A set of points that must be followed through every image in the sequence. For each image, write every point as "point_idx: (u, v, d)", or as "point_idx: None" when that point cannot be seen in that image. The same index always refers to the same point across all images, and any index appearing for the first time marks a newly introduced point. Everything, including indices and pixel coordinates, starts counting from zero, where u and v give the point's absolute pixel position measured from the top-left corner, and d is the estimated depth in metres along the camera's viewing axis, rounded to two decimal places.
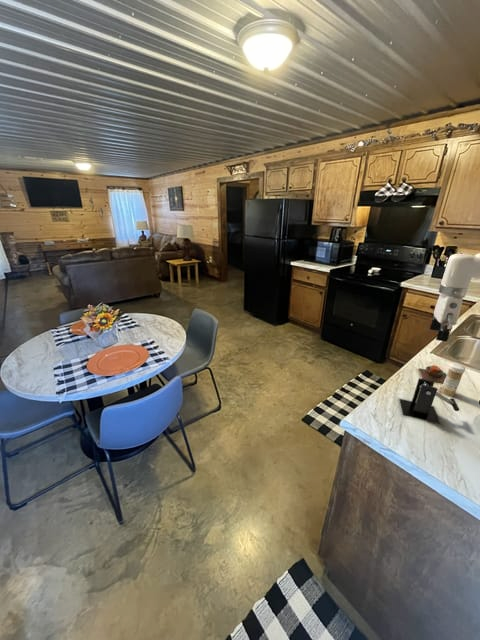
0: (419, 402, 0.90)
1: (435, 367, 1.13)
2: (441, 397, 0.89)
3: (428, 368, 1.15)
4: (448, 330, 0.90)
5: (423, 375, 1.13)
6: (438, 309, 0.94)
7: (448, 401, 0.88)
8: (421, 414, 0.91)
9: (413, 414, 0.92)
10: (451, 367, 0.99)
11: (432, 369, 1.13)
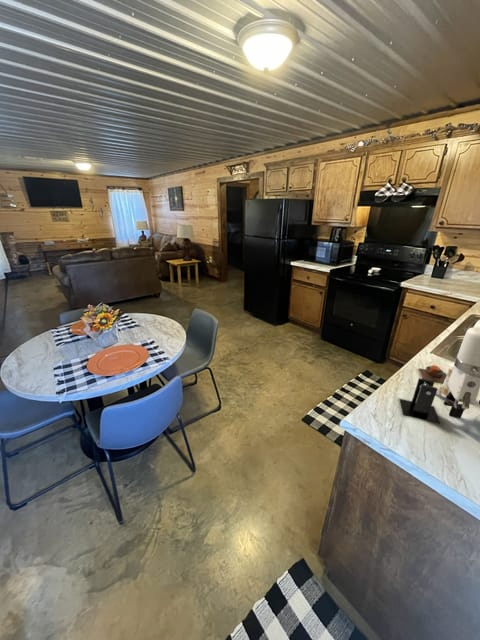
0: (419, 402, 0.90)
1: (435, 367, 1.13)
2: (441, 397, 0.89)
3: (428, 368, 1.15)
4: (462, 409, 0.84)
5: (423, 375, 1.13)
6: (454, 383, 0.86)
7: (448, 401, 0.88)
8: (421, 414, 0.91)
9: (413, 414, 0.92)
10: (451, 367, 0.99)
11: (432, 369, 1.13)
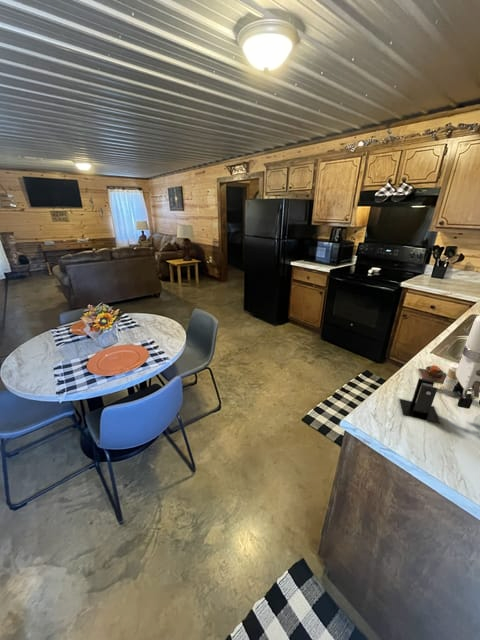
0: (419, 402, 0.90)
1: (435, 367, 1.13)
2: (445, 392, 0.88)
3: (428, 368, 1.15)
4: (471, 398, 0.82)
5: (423, 375, 1.13)
6: (462, 373, 0.84)
7: (453, 394, 0.87)
8: (421, 414, 0.91)
9: (413, 414, 0.92)
10: (451, 367, 0.99)
11: (432, 369, 1.13)
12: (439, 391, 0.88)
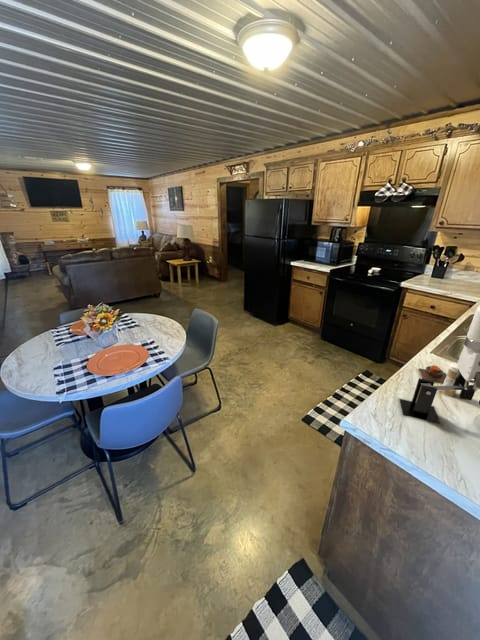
0: (419, 402, 0.90)
1: (435, 367, 1.13)
2: (445, 388, 0.87)
3: (428, 368, 1.15)
4: (473, 390, 0.81)
5: (423, 375, 1.13)
6: (464, 364, 0.82)
7: (454, 388, 0.86)
8: (421, 414, 0.91)
9: (413, 414, 0.92)
10: (451, 367, 0.99)
11: (432, 369, 1.13)
12: (439, 388, 0.88)
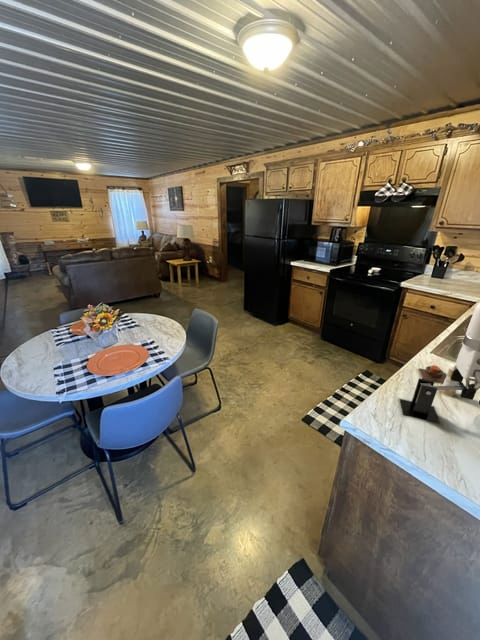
0: (419, 402, 0.90)
1: (435, 367, 1.13)
2: (445, 388, 0.87)
3: (428, 368, 1.15)
4: (475, 389, 0.79)
5: (423, 375, 1.13)
6: (462, 362, 0.82)
7: (454, 388, 0.86)
8: (421, 414, 0.91)
9: (413, 414, 0.92)
10: (451, 367, 0.99)
11: (432, 369, 1.13)
12: (439, 388, 0.88)
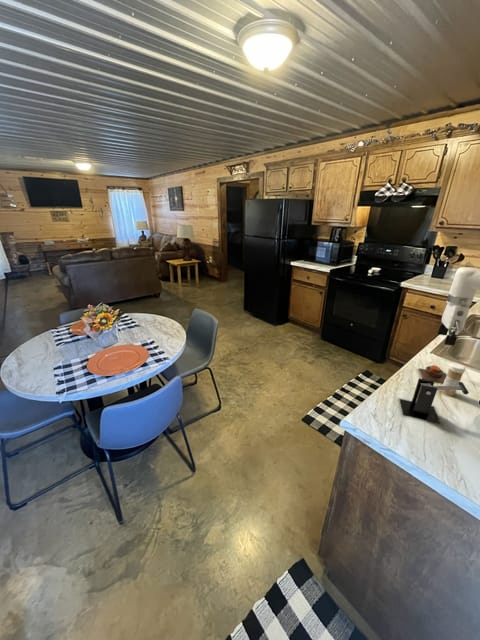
0: (419, 402, 0.90)
1: (435, 367, 1.13)
2: (445, 388, 0.87)
3: (428, 368, 1.15)
4: (456, 335, 1.00)
5: (423, 375, 1.13)
6: (446, 316, 1.04)
7: (454, 388, 0.86)
8: (421, 414, 0.91)
9: (413, 414, 0.92)
10: (451, 367, 0.99)
11: (432, 369, 1.13)
12: (439, 388, 0.88)
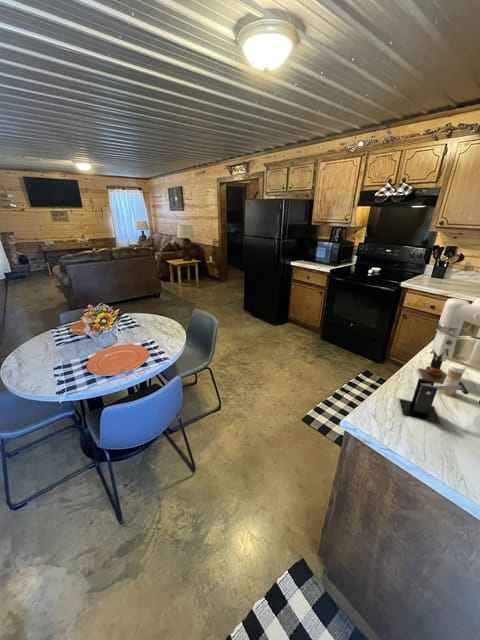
0: (419, 402, 0.90)
1: None
2: (445, 388, 0.87)
3: (428, 368, 1.15)
4: (441, 360, 1.09)
5: (423, 375, 1.13)
6: (436, 343, 1.09)
7: (454, 388, 0.86)
8: (421, 414, 0.91)
9: (413, 414, 0.92)
10: (451, 367, 0.99)
11: (432, 369, 1.13)
12: (439, 388, 0.88)
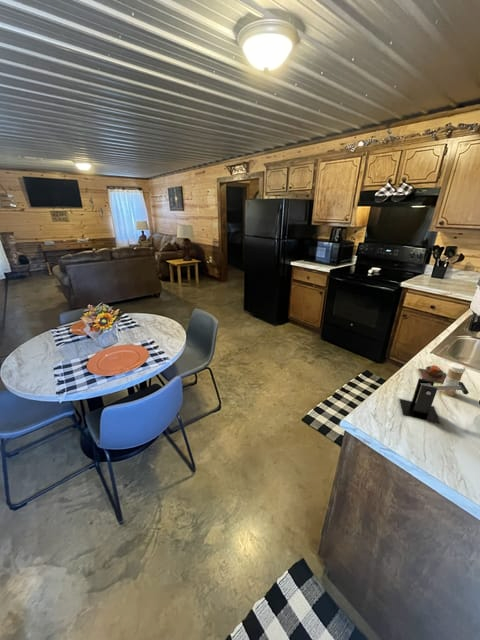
0: (419, 402, 0.90)
1: (435, 367, 1.13)
2: (445, 388, 0.87)
3: (428, 368, 1.15)
4: None
5: (423, 375, 1.13)
6: (476, 302, 0.96)
7: (454, 388, 0.86)
8: (421, 414, 0.91)
9: (413, 414, 0.92)
10: (451, 367, 0.99)
11: (432, 369, 1.13)
12: (439, 388, 0.88)
